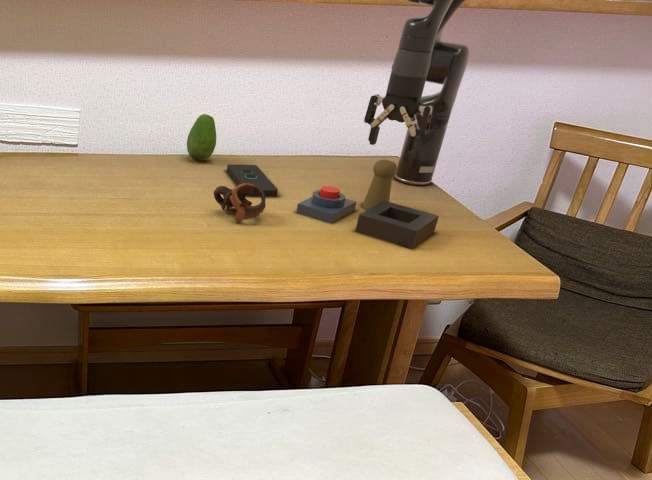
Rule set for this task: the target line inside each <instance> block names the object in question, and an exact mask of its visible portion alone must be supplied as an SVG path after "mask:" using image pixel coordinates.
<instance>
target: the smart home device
mask: <svg viewBox="0 0 652 480" xmlns="http://www.w3.org/2000/svg"><path fill="white" fill-rule="evenodd" d="M226 172H227V174H228V175H229V177H230V178H231V179H232V180H233V182H234V183H235V184H236V187H237V186H238V185H240V184H243V183H249V184H253V185H255V186H258V187H259V188H260V189H261V190H262V191H263V192H264V194H265V197H266V198H277V197H278V191H279V189H278V188H277V186H275V184H274V183H273V182H272V181H271V179H269V178H268V177H267V175H266V174H265V173H264V172H263V170H261V168H260V167H259V166H258V165H257V164H234V163H233V164H231V163H229V164H228V163H227V165H226ZM246 197H249V198H250V197H252V198H255V197H257V198H260V197H259V196H258V194H257V192H255V191H253V192H252V193H248V194H247V195H246Z"/></svg>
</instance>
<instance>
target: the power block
mask: <svg viewBox="0 0 652 480" xmlns="http://www.w3.org/2000/svg"><path fill="white" fill-rule="evenodd" d="M319 194H320V189H317V190H314V191H313V192H312V195H311V197H308V198H306V199H304V200H302V201H300V202H298V203H297V206H296V211H295V213H297V214H300V215H303V216H307V217H310V218H313V219H316V220H320V221H323V222H326V223H329V224H332V223H334V222H336V221H338V220H340V219H342V218H344V217H346V216H347V215H349V214H351V213H353V212H354V211H355V210H356V208H357V207H356V206H357V201H356V200H353V199H348V198H346V194H344V193H342V192H340V194H339V198H337V199H330V198H324V197H321V196H320V195H319Z"/></svg>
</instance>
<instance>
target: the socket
mask: <svg viewBox="0 0 652 480" xmlns="http://www.w3.org/2000/svg"><path fill="white" fill-rule="evenodd" d="M439 217H440V215H438V214H434V213H432V212H427V211H423V210H420V209H417V208H413V207H409V206H405V205H402V204H398V203H394V202H390V201H389V202H388V201H382V202H380V203H378V204H376V205H375V206H373V207H371V208H369V209H366V210H364V211H362V212H360V213H359V214H358V217H357V221H356V226H355V230H354V231H355V232H356V233H359V234H362V235H366V236H368V237H372V238H376V239H379V240H382V241H386V242H389V243H392V244H395V245H397V246H401V247H404V248H408V249H413V248H415V247H416V246H417V245H419V244H420V243H421V242H423V241H425V240H426V239H427V238H428V237H431V235H433V234H434V233H435V231H436V228H437V224H438V221H439Z"/></svg>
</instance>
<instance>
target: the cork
mask: <svg viewBox="0 0 652 480" xmlns="http://www.w3.org/2000/svg"><path fill="white" fill-rule="evenodd" d="M397 167H398V165H397V163H395V162H394V161H392V160H388V159H379V160H377V161H376V162H375V163H374V165H373V168H372V172H373V176H372V180H371V183H370V185H369V187H368V190H367V193H366V195H365V198H364V200H363V202H362V207H363V208H364V209H366V210H368V209H369V208H371V207H373V206H375V205H376V204H378V203H380V202H382V201H388V202H390V199H391V191H392V182H393V177H395V173H396V171H397Z"/></svg>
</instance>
